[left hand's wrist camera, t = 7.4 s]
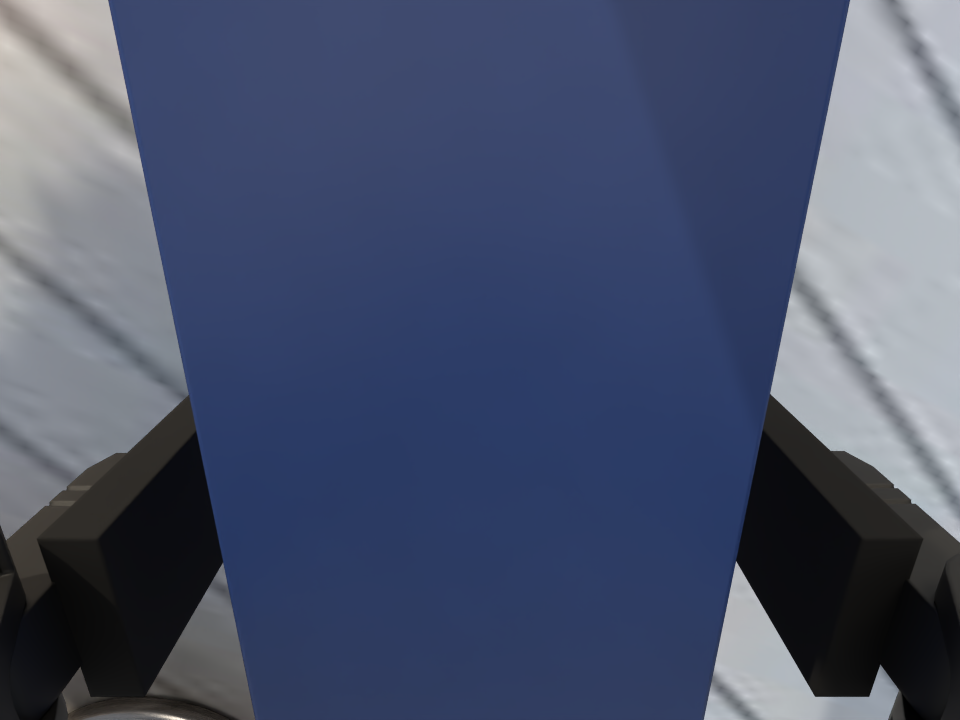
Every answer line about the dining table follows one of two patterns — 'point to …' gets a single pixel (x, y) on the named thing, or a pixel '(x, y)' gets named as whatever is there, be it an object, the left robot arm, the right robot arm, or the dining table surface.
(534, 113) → the bar
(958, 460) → the dining table surface
